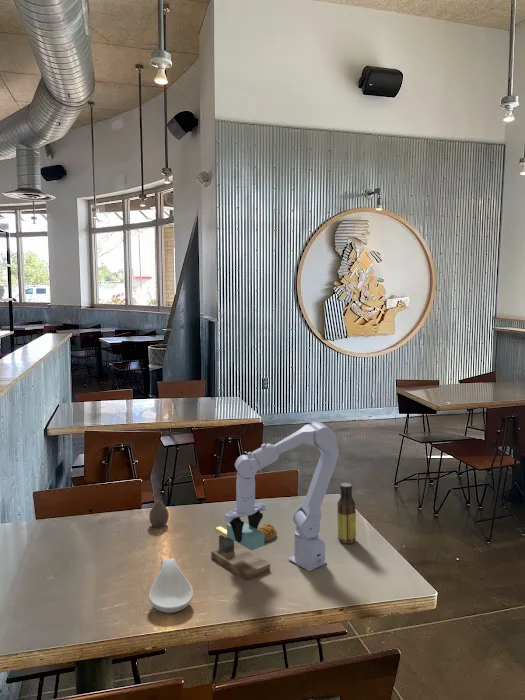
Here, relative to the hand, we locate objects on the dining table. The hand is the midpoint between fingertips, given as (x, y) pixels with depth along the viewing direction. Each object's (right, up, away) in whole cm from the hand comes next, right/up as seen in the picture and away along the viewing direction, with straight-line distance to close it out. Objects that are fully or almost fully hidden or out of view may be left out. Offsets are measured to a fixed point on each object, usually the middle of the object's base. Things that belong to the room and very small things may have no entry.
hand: (245, 538), depth 160 cm
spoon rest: (-21, -11, -15) cm, 27 cm away
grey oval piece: (-32, -6, +30) cm, 45 cm away
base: (-2, -9, +3) cm, 9 cm away
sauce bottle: (+34, -8, +19) cm, 40 cm away
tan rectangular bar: (-8, -2, +9) cm, 12 cm away
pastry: (+6, -8, +21) cm, 23 cm away
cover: (0, -1, 0) cm, 1 cm away
